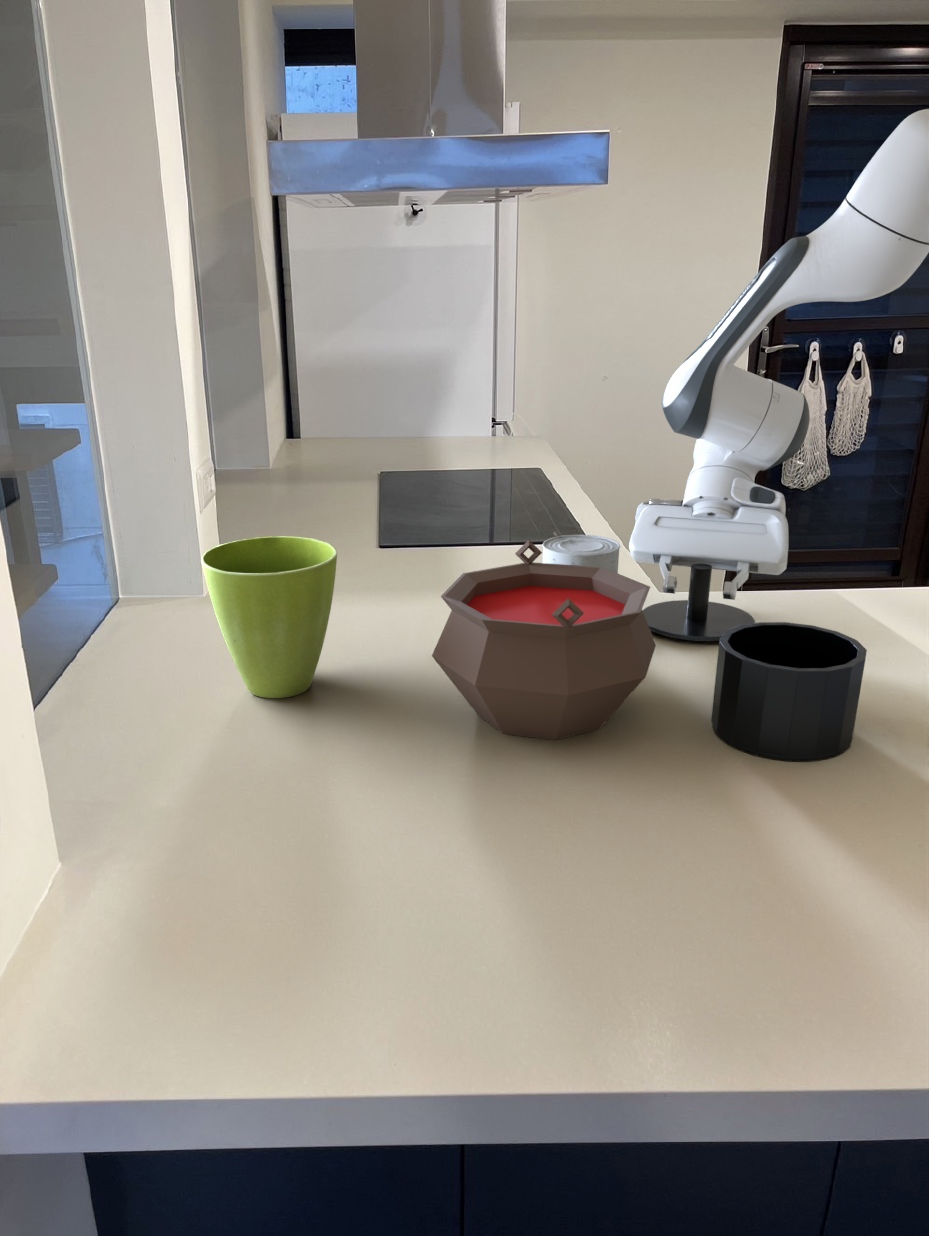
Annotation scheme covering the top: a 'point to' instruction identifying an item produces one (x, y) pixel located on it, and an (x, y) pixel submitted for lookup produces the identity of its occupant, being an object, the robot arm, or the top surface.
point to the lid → (695, 612)
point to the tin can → (582, 551)
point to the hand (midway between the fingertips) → (698, 594)
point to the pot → (787, 690)
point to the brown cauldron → (545, 645)
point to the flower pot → (273, 608)
